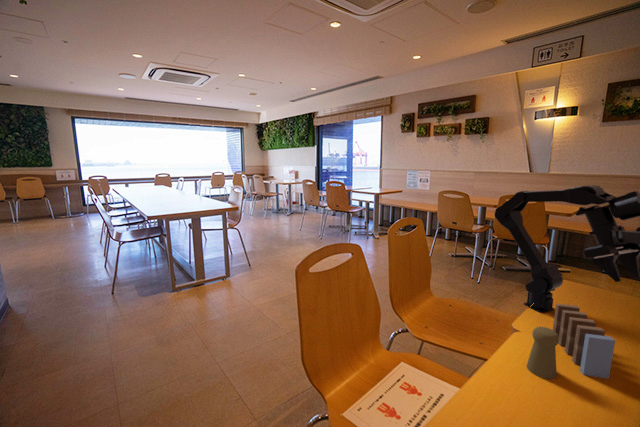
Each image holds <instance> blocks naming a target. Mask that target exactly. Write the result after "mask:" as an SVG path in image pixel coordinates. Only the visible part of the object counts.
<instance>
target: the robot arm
mask: <svg viewBox="0 0 640 427" xmlns="http://www.w3.org/2000/svg"><path fill="white" fill-rule="evenodd" d="M537 202H538V203H539V202H541V203H543V202H545V203H548V202H550V203H551V202H552V203H553V202H555V203H556V202H559V203H560V202H561V203H567V204H574V205H578V206H580V207H579V208H578V210H577V212H576V213H575V217H576V216H579V217H580V216H585V218H586V220H587V222H588V224H589V227H590V230H591V231H589V235H590V236H594V238H595V241H596V243H597V245H594V246H591V247H586V248H584V249H583V251H582V255H583V257H584V259H588V261H589V262H592V263H593V264H594V265H596V266H597V267H598V268H600V270H601V271H603V273H605V274H606V275H607V276H608V277H610V278H611V279H612V280H613V281H614V282H616V283H617V282H619V283H620V282H622V279H621V276H620V275H621V274H620V271H619V268H618V264H617V260H618V261H619V262H620V264H622V265H623V267H624V268H625V269H626V271H628V272H629V273H630V275H631V276H632V277H633V278H635V279H636V278H640V262H639V261H640V226H639V227H637V228H636V229H633V230H632V229H631V230H630V229H629V230H627V229H625V227H624V225H618V223H617V220H616V219H620V220H621V221H627V220H631V219H635V218H639V217H640V192H639V191H638V190H635V191H630V192H627V193H626V194H623V195H620V196H615V195H613V194H610V193H608V192H605V190H604V189H603V187H601V186H600V185H599V184H597V185H596V184H590V185H582V186H580V185H579V186H577V187H576V186H575V187H572V188H571V187H570V188H565V189H557V190H556V189H555V190H554V189H553V190H552V189H551V190H521V191H518V192H516V193H515V194H513V196H512V197H511V198H510V199H508V200H506V201H505V202H504V203H503V204H502V205H500V206H498V207H497V208H496V209H495V211H494V213H493V214H494V217H495V219H496V220H497V222H499V223H500V225H501V226H503V227H504V228H505V229H507V230H508V232H509V233H510V235H511V236H512V238H513V240H514V241H515V243H516V245H517V246H518V248H519V250H520V252H521V253H522V254H523V257H524V258H525V260H526V261H527V263H528V265H529V267H530V276H531V278H532V281H530V282H528V283H526V284H524V286H525V289H526V290H525V291H526V292H527V299H526V302H524V303H523V305H524V306H525V307H528V308H530V306H531V305H532V304H533V303H534V304H533V305H532V306H531V308H530V309H532V310H534V311H537V312H539V313H547V312H549V311H553V310H555V308H554V307H553V305H554V298H553V296H554V294H553V293H552V292H554V291H555V290H556V289H557V288H559V287H562V285H563V282H564V279H563V277H562V276H564V274H563V273H562V272H560V269H559V268H558V265H556V264H549V263H548V262H547V261H546V260H545V258H544V257H543V255H542V253H541V252H540V250H539V249H538V247H537V245H536V244H535V242H534V240H533V238H532V237H531V235H530V234H529V232H528V230H527V229H526V227H525V226H524V220H523V219H524V217H523V215H522V211H523V210H524V209H525V208H526V206H527V205H528V204H529V203H537ZM603 204H604V206H601V205H603ZM605 204H607V205H605ZM589 205H592V206H589ZM585 206H588V207H585Z"/></svg>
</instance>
